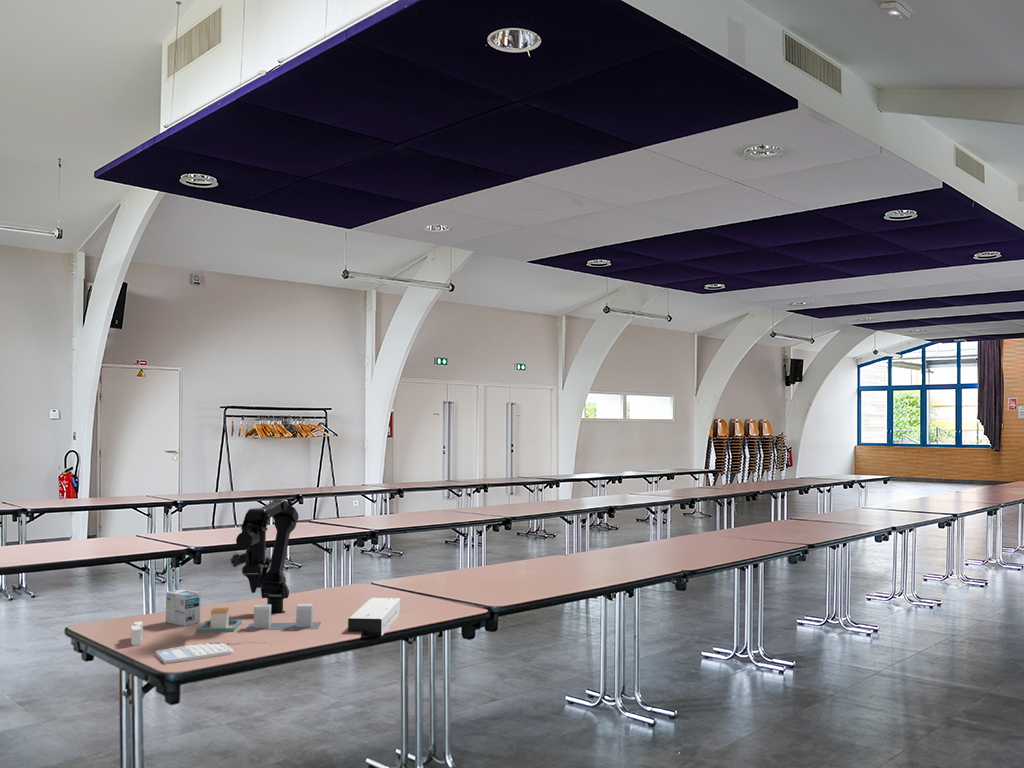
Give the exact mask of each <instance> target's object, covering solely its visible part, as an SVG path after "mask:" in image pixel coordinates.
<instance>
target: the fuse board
mask: <svg viewBox="0 0 1024 768" xmlns="http://www.w3.org/2000/svg"><path fill="white" fill-rule="evenodd" d="M321 624H322V621H313V625H312V627H296V622H271V626H270V627H269V628H254V622H252V623H250V622H249V624H248V625H247V626H246V628H244V630H243V631H249V632H250V631H252V632H253V631H290V630H292V631H293V630H294V631H295V630H298V631H299V630H318V629H319V627H320V626H321Z"/></svg>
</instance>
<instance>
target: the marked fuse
mask: <svg viewBox="0 0 1024 768" xmlns="http://www.w3.org/2000/svg"><path fill="white" fill-rule="evenodd" d="M229 620H230V608H229V607H213V608H212V609H211V610H210V621H211V624H210V628H229V625H230V624H229Z"/></svg>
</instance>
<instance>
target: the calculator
mask: <svg viewBox="0 0 1024 768" xmlns="http://www.w3.org/2000/svg"><path fill="white" fill-rule="evenodd" d="M233 654H234V649H233V647H230V646H229V645H228V644H226V643H225V642H204V643H198V644H192V645H185V646H177V647H170V648H165V649H158V650H156V651H155V655H156V657H157V658H158V659H159V658H160V659H161V660H162V661H163V662H165V663H170V664H172V663H171V662H177V663H181V662H180V661H183V662H187V661H186V660H190V661H196V659H197V660H202V659H203V660H204V659H208V658H216V657H223V656H229V655H233ZM160 659H159V660H160ZM161 660H160V661H161ZM162 661H161V662H162ZM178 661H179V662H178ZM163 662H162V663H163ZM165 663H164V664H165Z"/></svg>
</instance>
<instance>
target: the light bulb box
mask: <svg viewBox="0 0 1024 768" xmlns="http://www.w3.org/2000/svg"><path fill="white" fill-rule="evenodd" d="M165 593H166V594H165V623H166V622H167V624H173V625H177V626H183V627H186V626H190V625H195V624H199V623H201V597H202V596H201V591H195V590H188V589H176V590H171V591H170V590H169V591H166V592H165Z"/></svg>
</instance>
